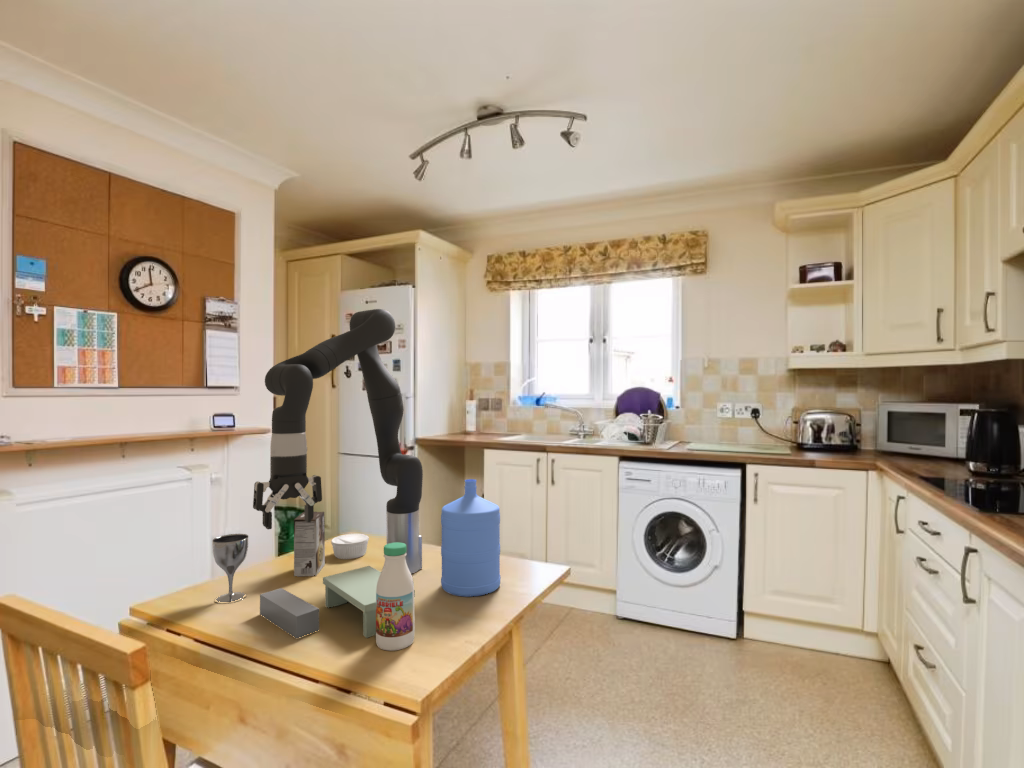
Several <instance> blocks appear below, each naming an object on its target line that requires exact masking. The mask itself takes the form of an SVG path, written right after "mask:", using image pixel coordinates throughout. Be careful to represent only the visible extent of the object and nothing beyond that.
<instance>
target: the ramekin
mask: <svg viewBox="0 0 1024 768" xmlns="http://www.w3.org/2000/svg"><path fill="white" fill-rule="evenodd" d="M369 540H370V537H369V536H368V535H367V534H363V533H346V534H341V535H338V536H335V537H333V538H332V539H331V541H330V543H331V546H332V550H333V555H334V557H335V558H336V559H339V560H353V559H358V558H361V557H363V556H364V555H365V554H366V553H367V549H368V542H369Z"/></svg>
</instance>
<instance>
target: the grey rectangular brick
mask: <svg viewBox="0 0 1024 768" xmlns="http://www.w3.org/2000/svg"><path fill="white" fill-rule="evenodd" d="M259 615H260V616H261V615H262V616H261V617H263V616H264V617H265V618H264V617H263V618H264V619H266V620H267V619H268V620H267V621H269V622H270V621H271V622H270V623H272V624H273V623H274V625H275V626H276V625H277V626H276V627H277V628H279V627H280V628H279V629H281V630H282V629H283V630H282V631H283V632H285V631H286V632H285V633H287V634H288V633H289V634H288V635H290V634H291V635H292V636H291V635H290V636H291V637H293V636H294V637H295V638H294V637H293V638H294V639H296V638H299V637H301V638H303V637H302V636H304V635H307V634H309V635H311V634H310V633H312V634H314V633H313V632H315V631H317V632H319V631H320V608H319V607H317V606H315V605H313V604H312V603H309V602H307V601H306V600H304V599H302V598H300V597H299V596H297V595H296V594H294V593H291V592H289V591H288V590H286V589H285V588H282V587H281V588H277V589H274V590H270V591H266V592H264V593H260V594H259ZM318 630H319V631H318ZM315 633H316V632H315ZM307 636H308V635H307ZM304 637H305V636H304ZM299 639H300V638H299Z"/></svg>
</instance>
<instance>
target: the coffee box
mask: <svg viewBox="0 0 1024 768" xmlns="http://www.w3.org/2000/svg"><path fill="white" fill-rule="evenodd" d="M313 513H314V517H313V519H311V522H308V523H307V522H305V511H303V512H301V513H300V514H299V515H298V516H296V517H295V518H294V519H293V577H295V576H297V577H315V576H317V575H318V574H319V573H320V572H321V571H322V569H323V568H324V566H325V565H326V563H325V562H326V559H325V558H326V554H325V553H326V552H325V551H326V547H325V546H326V544H325V542H326V541H325V539H326V538H325V536H326V534H325V531H326V529H325V511H314V512H313ZM314 575H315V576H314Z"/></svg>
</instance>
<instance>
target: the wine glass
mask: <svg viewBox="0 0 1024 768" xmlns="http://www.w3.org/2000/svg"><path fill="white" fill-rule="evenodd" d="M211 542H212V545H211V546H212V554H213V555H212V556H213V558H214V562H215V564H216V565H217V566H218V567H219V568H221V569H222V571H224V573H225V574H226V576H227V579H228V580H227V581H228V582H227V583H228V593H225V594H221V595H219V596H220V597H219V596H218V598H217V597H216V598H217V599H216V598H215V599H216V600H217V601H218V602H219V601H220V602H231V601H235V600H238V599H241V598H243V596H244V595H245V594H246V593H245V592H242V593H241V591H237V592H236V591H235V592H234V593H233V591H234V590H233V581H234V575H235V574H236V571H237V570H238V568H239V567H240V566H241V565H242V564H243V563H244V561H245V560H246V557H247V554H248V550H249V535H248V534H246V533H230V534H224V535H220V536H219V535H218V536H216V537H213V539H212V541H211ZM244 593H245V594H244Z"/></svg>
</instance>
